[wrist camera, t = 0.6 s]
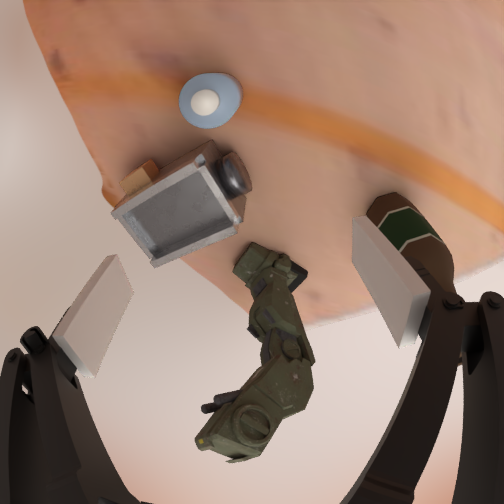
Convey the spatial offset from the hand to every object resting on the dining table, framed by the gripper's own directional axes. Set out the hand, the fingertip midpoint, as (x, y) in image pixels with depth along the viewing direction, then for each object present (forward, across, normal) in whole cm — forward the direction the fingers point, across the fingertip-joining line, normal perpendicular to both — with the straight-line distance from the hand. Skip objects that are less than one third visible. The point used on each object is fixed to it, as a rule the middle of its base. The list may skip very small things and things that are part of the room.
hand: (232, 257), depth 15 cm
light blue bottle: (+21, -1, +10) cm, 23 cm away
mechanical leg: (+24, +1, -16) cm, 29 cm away
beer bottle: (+21, +20, -9) cm, 30 cm away
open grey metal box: (+22, -7, -1) cm, 23 cm away
